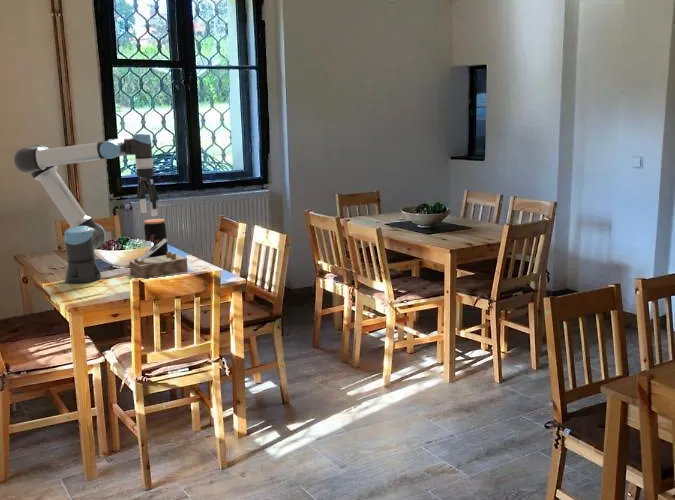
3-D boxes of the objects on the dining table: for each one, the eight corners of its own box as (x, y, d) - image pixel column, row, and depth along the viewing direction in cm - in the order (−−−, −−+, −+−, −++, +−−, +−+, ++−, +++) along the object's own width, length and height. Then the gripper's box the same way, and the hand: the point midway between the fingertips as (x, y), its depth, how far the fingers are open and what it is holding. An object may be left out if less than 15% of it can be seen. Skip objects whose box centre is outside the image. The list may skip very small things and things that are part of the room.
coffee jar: (142, 256, 364) (139, 221, 360) (156, 252, 373) (153, 218, 369) (158, 257, 359) (155, 222, 355) (172, 253, 368) (169, 219, 364)
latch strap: (139, 263, 321) (138, 261, 320) (137, 262, 323) (135, 260, 323) (168, 241, 327) (166, 238, 327) (165, 240, 330) (164, 237, 329)
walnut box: (141, 279, 317) (139, 261, 315) (130, 273, 328) (128, 256, 326) (187, 271, 329) (186, 253, 328) (175, 265, 341) (174, 249, 339)
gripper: (163, 168, 316) (167, 216, 320) (142, 165, 335) (147, 210, 340) (146, 170, 311) (151, 218, 316) (127, 166, 331) (131, 212, 335)
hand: (149, 214), depth 328 cm, fingers open, 12 cm apart
